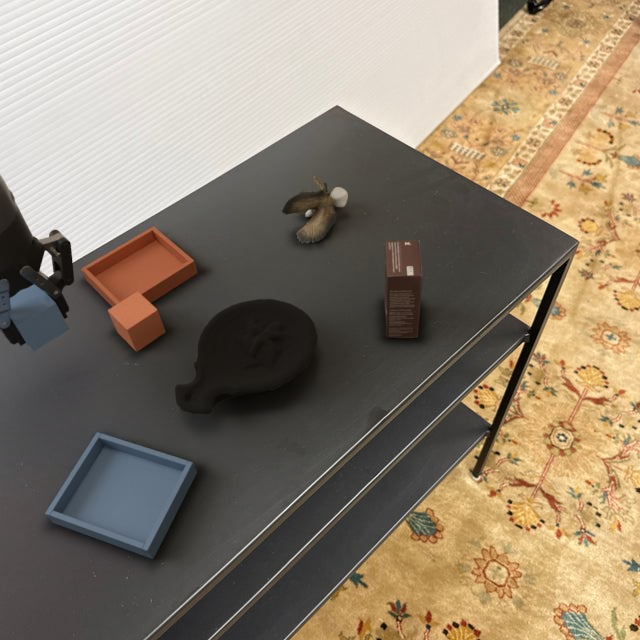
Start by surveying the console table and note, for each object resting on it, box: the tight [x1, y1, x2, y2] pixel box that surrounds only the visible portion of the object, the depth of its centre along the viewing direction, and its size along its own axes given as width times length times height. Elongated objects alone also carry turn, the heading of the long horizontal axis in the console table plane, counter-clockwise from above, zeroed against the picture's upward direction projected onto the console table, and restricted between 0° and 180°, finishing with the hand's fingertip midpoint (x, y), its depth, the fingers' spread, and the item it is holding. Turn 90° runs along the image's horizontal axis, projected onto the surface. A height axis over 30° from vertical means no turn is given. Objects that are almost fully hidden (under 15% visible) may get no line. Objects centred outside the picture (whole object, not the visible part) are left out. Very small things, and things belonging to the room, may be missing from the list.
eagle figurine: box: [281, 175, 349, 244], centre depth 95 cm, size 8×7×9 cm
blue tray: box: [44, 431, 198, 560], centre depth 70 cm, size 12×10×2 cm
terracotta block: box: [107, 291, 166, 353], centre depth 84 cm, size 5×5×5 cm
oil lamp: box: [174, 298, 319, 415], centre depth 79 cm, size 15×20×5 cm
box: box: [384, 239, 423, 339], centre depth 80 cm, size 6×4×12 cm
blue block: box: [9, 285, 70, 352], centre depth 72 cm, size 5×5×5 cm
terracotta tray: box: [80, 226, 199, 308], centre depth 91 cm, size 12×10×2 cm
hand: (40, 327), depth 74 cm, fingers closed on blue block, 4 cm apart
